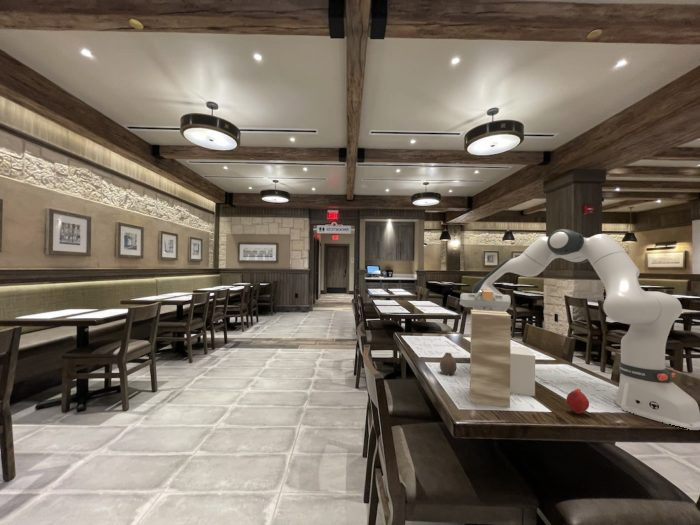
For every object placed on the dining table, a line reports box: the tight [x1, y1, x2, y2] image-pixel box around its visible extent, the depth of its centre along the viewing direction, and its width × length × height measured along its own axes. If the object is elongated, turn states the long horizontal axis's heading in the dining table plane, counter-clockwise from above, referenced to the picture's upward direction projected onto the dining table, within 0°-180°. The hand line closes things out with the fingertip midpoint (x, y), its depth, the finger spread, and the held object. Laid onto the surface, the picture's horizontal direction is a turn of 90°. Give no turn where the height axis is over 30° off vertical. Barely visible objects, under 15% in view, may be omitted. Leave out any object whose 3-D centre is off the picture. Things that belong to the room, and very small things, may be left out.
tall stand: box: [469, 309, 512, 408], centre depth 114 cm, size 12×12×30 cm
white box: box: [510, 345, 536, 397], centre depth 125 cm, size 13×12×14 cm
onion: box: [566, 387, 590, 415], centre depth 103 cm, size 6×6×8 cm
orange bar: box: [481, 289, 493, 300], centre depth 130 cm, size 19×3×3 cm, turn 161°
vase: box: [439, 352, 457, 375], centre depth 141 cm, size 7×7×9 cm
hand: (485, 292), depth 135 cm, fingers closed on orange bar, 3 cm apart
